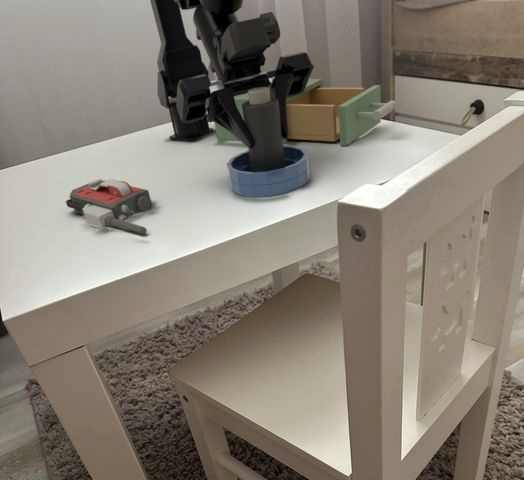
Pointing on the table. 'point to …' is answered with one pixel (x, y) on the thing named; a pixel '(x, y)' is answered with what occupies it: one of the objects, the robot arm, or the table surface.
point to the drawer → (336, 113)
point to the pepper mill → (264, 130)
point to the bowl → (269, 174)
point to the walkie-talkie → (110, 203)
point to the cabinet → (225, 134)
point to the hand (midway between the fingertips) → (268, 141)
